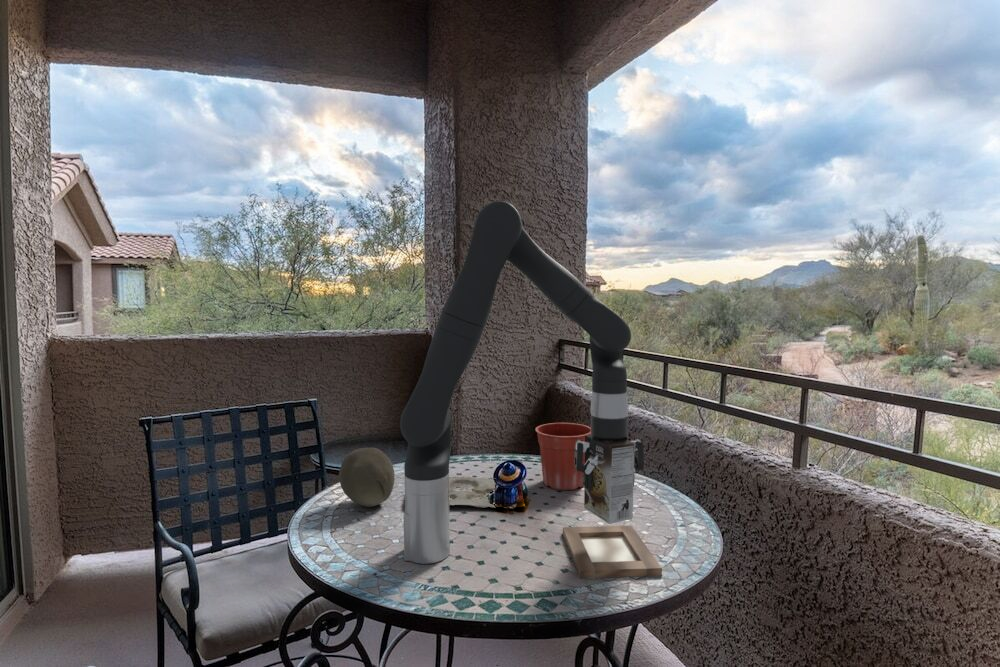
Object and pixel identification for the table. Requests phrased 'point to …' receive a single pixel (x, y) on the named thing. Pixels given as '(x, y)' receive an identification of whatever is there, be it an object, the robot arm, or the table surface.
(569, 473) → the flower pot
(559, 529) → the table surface
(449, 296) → the robot arm
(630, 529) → the walnut frame
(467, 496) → the stone relief
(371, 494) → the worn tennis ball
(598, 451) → the coffee box
